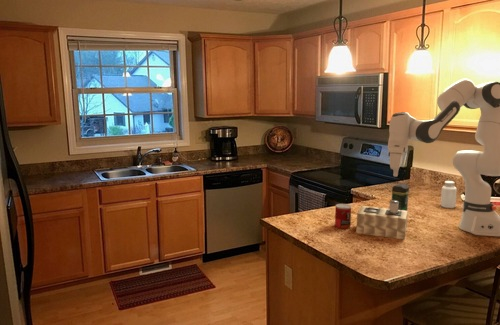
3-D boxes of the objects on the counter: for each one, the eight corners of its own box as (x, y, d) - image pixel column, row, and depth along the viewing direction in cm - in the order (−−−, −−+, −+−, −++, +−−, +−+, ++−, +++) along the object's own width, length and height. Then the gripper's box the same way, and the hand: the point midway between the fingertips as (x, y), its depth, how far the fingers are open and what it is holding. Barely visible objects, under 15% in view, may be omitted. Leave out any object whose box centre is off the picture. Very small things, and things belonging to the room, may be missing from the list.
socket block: (406, 230, 204) (407, 209, 202) (404, 239, 191) (405, 218, 189) (360, 224, 212) (361, 205, 211) (356, 233, 200) (357, 212, 198)
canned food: (341, 230, 204) (342, 208, 202) (331, 225, 211) (332, 204, 209) (353, 227, 208) (354, 206, 206) (343, 223, 215) (344, 202, 213)
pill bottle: (440, 207, 242) (442, 182, 240) (440, 204, 249) (442, 179, 247) (455, 209, 239) (457, 183, 237) (454, 205, 247) (456, 180, 244)
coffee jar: (403, 221, 218) (405, 187, 214) (388, 218, 222) (390, 184, 219) (409, 216, 225) (411, 183, 222) (394, 214, 230) (396, 181, 227)
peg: (397, 220, 200) (398, 200, 198) (397, 222, 196) (398, 202, 194) (389, 219, 201) (390, 199, 200) (388, 221, 198) (389, 201, 196)
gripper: (392, 144, 204) (390, 171, 206) (388, 149, 186) (386, 179, 188) (406, 145, 201) (404, 173, 204) (403, 150, 183) (400, 180, 185)
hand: (395, 176), depth 196 cm, fingers closed
